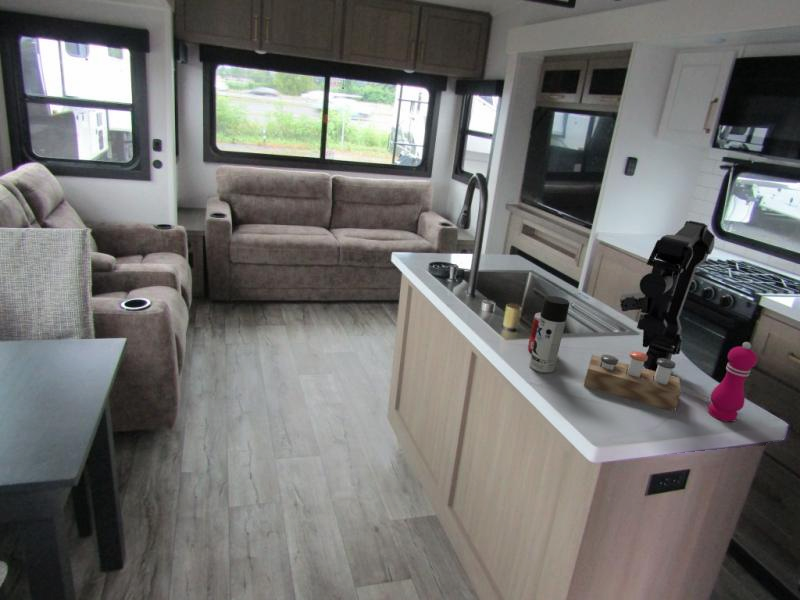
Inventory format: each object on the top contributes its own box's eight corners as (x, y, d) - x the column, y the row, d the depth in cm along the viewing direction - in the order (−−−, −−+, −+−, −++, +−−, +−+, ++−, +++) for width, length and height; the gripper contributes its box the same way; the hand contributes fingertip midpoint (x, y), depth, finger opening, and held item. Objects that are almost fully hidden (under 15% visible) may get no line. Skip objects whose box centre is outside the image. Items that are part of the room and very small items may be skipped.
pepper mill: (724, 424, 133) (752, 350, 127) (699, 409, 140) (724, 336, 133) (744, 421, 136) (772, 347, 129) (718, 405, 142) (744, 334, 136)
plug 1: (612, 380, 148) (618, 357, 146) (611, 386, 145) (617, 363, 142) (596, 375, 150) (602, 353, 147) (594, 382, 146) (600, 359, 144)
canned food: (555, 360, 157) (564, 324, 154) (527, 354, 159) (535, 319, 155) (554, 349, 165) (562, 315, 161) (527, 344, 166) (534, 310, 162)
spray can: (527, 361, 155) (541, 293, 148) (551, 363, 155) (566, 296, 148) (531, 372, 149) (546, 302, 142) (556, 375, 149) (573, 305, 142)
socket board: (673, 394, 145) (679, 377, 144) (674, 411, 137) (680, 394, 135) (587, 370, 153) (592, 354, 151) (583, 385, 144) (588, 368, 143)
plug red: (641, 377, 145) (648, 354, 143) (640, 383, 141) (647, 360, 139) (624, 372, 146) (630, 349, 144) (623, 379, 143) (630, 355, 140)
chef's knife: (718, 411, 141) (723, 408, 143) (719, 407, 140) (725, 404, 142) (649, 377, 155) (655, 374, 157) (650, 373, 154) (656, 371, 156)
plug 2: (667, 384, 143) (675, 361, 140) (668, 391, 139) (675, 367, 137) (650, 379, 144) (657, 356, 142) (650, 386, 140) (657, 362, 138)
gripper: (630, 272, 146) (615, 326, 151) (623, 290, 130) (607, 350, 136) (676, 282, 142) (659, 337, 147) (674, 302, 126) (656, 363, 131)
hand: (644, 346), depth 140 cm, fingers closed
